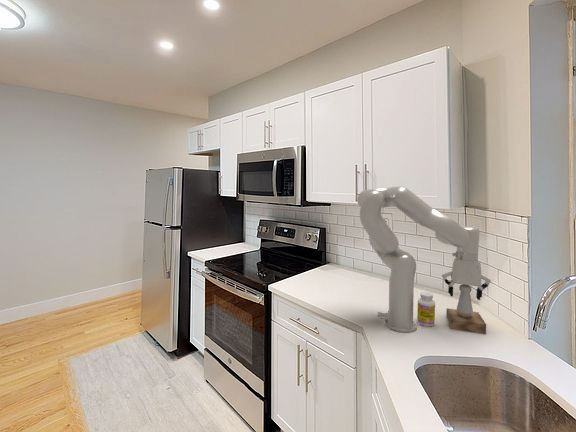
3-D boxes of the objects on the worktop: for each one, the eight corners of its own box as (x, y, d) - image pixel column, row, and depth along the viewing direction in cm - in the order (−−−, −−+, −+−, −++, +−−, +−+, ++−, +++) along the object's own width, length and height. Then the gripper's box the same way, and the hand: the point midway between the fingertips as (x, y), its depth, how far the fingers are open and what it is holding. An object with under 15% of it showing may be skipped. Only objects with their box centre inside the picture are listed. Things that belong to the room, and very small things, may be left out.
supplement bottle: (417, 325, 116) (418, 295, 115) (416, 318, 122) (417, 290, 121) (435, 328, 114) (436, 297, 113) (433, 321, 120) (434, 292, 119)
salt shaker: (466, 312, 119) (467, 283, 118) (476, 318, 113) (477, 287, 112) (453, 313, 119) (454, 283, 118) (462, 319, 113) (463, 287, 112)
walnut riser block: (450, 329, 113) (451, 319, 113) (446, 317, 124) (446, 308, 124) (485, 334, 108) (486, 324, 108) (478, 321, 119) (478, 312, 119)
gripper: (444, 256, 114) (442, 297, 115) (495, 260, 107) (492, 303, 109) (441, 253, 121) (439, 291, 122) (489, 256, 114) (486, 297, 115)
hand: (464, 297), depth 115 cm, fingers open, 9 cm apart
